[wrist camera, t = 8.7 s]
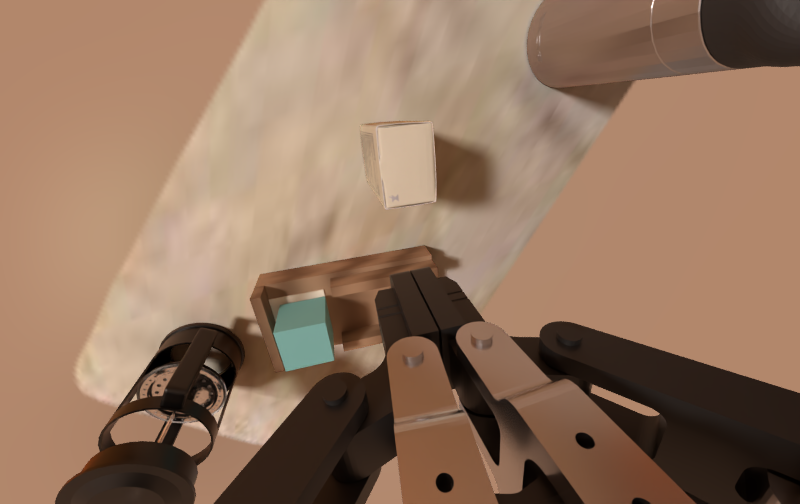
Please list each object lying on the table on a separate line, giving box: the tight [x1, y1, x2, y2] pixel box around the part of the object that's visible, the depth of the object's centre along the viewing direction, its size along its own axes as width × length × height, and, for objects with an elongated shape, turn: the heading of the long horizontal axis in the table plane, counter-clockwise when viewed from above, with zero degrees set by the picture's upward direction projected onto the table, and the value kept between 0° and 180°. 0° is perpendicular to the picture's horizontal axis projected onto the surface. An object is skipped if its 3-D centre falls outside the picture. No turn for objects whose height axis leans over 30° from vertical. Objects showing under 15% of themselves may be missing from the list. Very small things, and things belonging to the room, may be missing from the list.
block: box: [273, 297, 334, 371], centre depth 34 cm, size 5×5×5 cm
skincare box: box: [360, 121, 437, 210], centre depth 29 cm, size 6×4×12 cm
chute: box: [250, 246, 438, 372], centre depth 38 cm, size 20×10×6 cm, turn 95°
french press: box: [55, 323, 245, 504], centre depth 29 cm, size 12×9×23 cm
